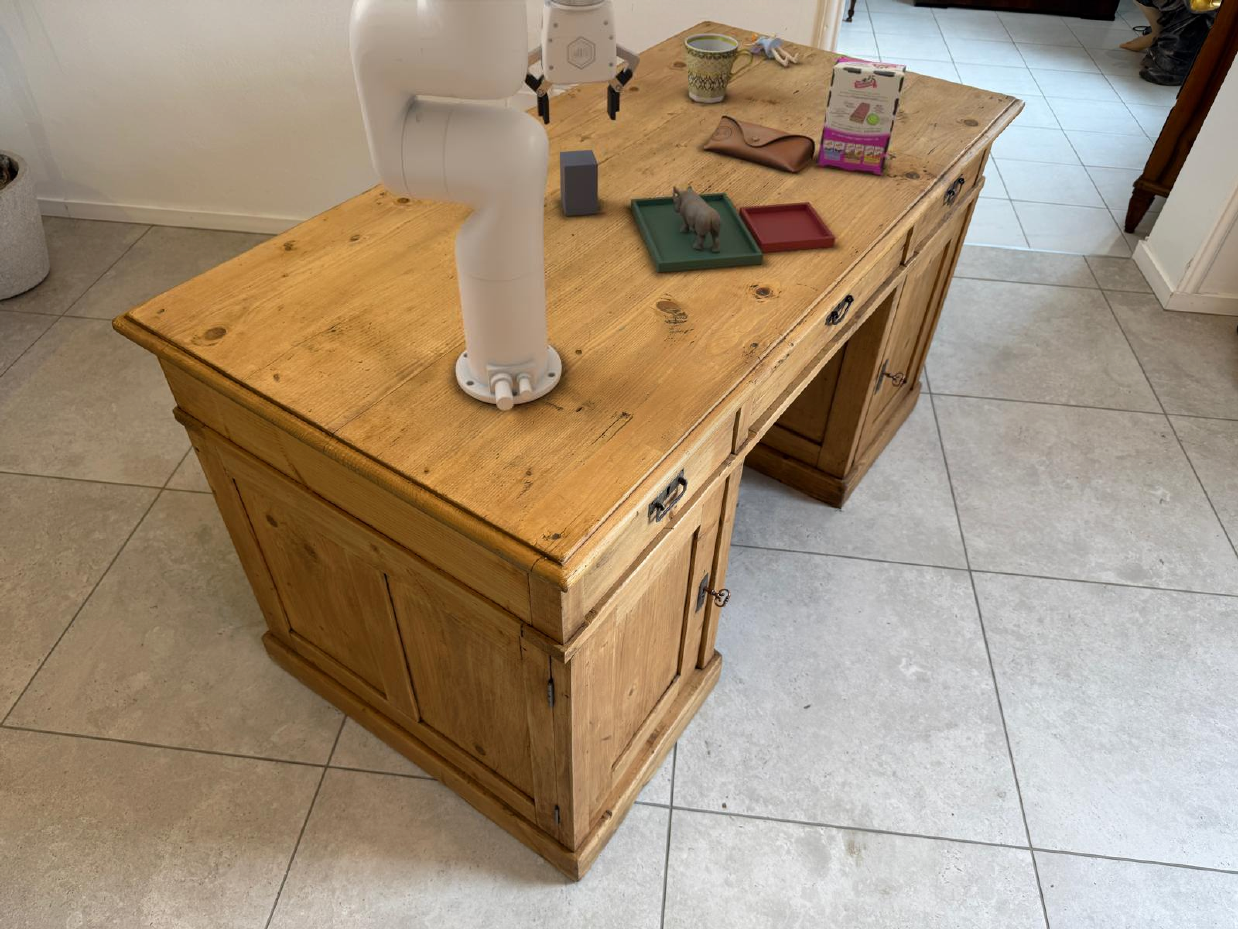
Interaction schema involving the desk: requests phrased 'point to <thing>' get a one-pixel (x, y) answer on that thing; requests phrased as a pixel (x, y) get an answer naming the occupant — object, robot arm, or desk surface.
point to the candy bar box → (860, 115)
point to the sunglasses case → (761, 144)
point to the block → (579, 182)
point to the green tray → (693, 236)
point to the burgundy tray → (786, 227)
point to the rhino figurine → (697, 217)
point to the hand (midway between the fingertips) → (578, 118)
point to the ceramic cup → (711, 65)
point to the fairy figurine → (771, 48)
